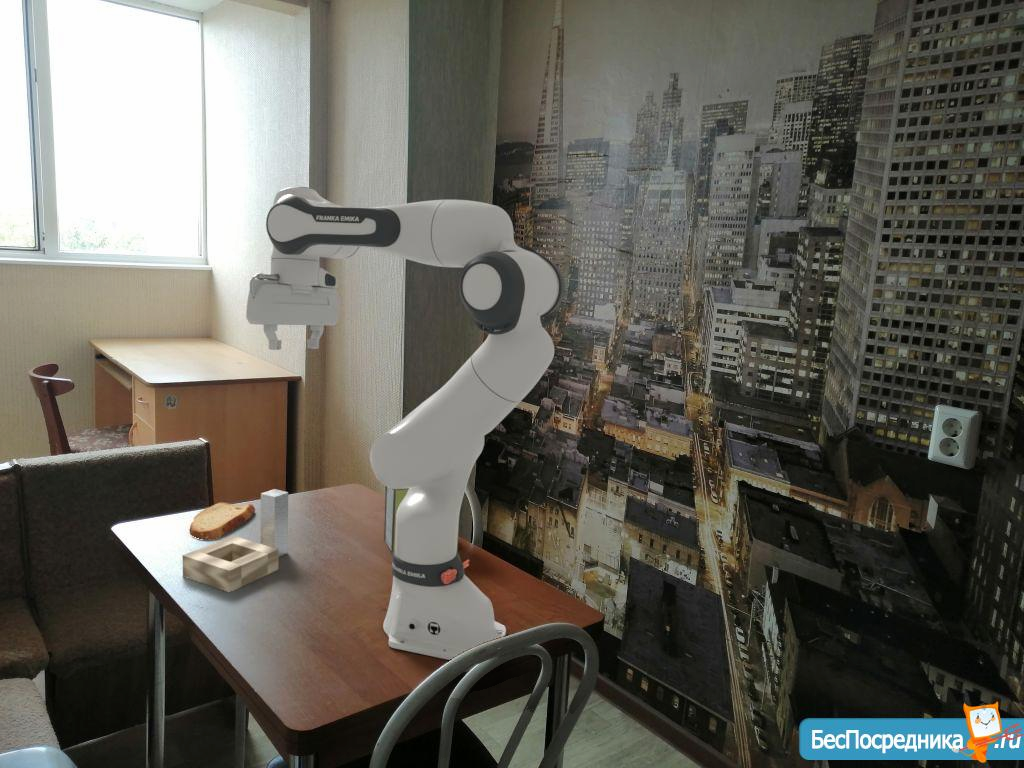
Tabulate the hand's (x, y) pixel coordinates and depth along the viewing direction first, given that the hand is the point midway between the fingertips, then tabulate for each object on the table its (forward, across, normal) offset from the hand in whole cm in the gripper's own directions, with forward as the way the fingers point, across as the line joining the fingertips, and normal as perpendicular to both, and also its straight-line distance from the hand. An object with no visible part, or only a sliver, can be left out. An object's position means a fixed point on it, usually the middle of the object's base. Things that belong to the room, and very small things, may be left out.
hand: (294, 349), depth 143 cm
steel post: (+46, +11, +17) cm, 50 cm away
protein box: (+46, +35, -4) cm, 58 cm away
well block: (+47, -1, +16) cm, 50 cm away
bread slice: (+45, +16, +40) cm, 63 cm away
